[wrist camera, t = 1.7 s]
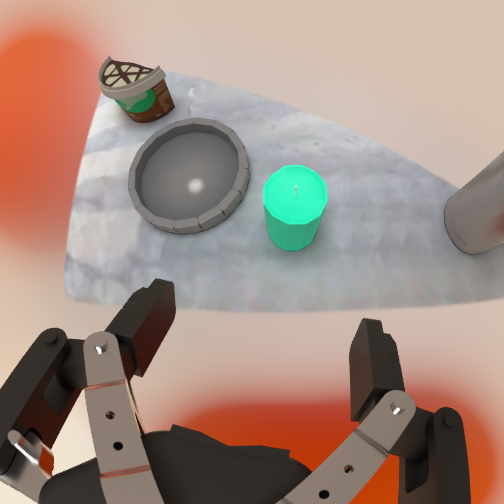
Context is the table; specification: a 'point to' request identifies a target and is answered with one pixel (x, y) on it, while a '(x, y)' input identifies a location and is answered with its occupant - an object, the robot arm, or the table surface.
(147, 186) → the plate
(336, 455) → the robot arm
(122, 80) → the food container
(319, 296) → the table surface
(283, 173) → the candle
